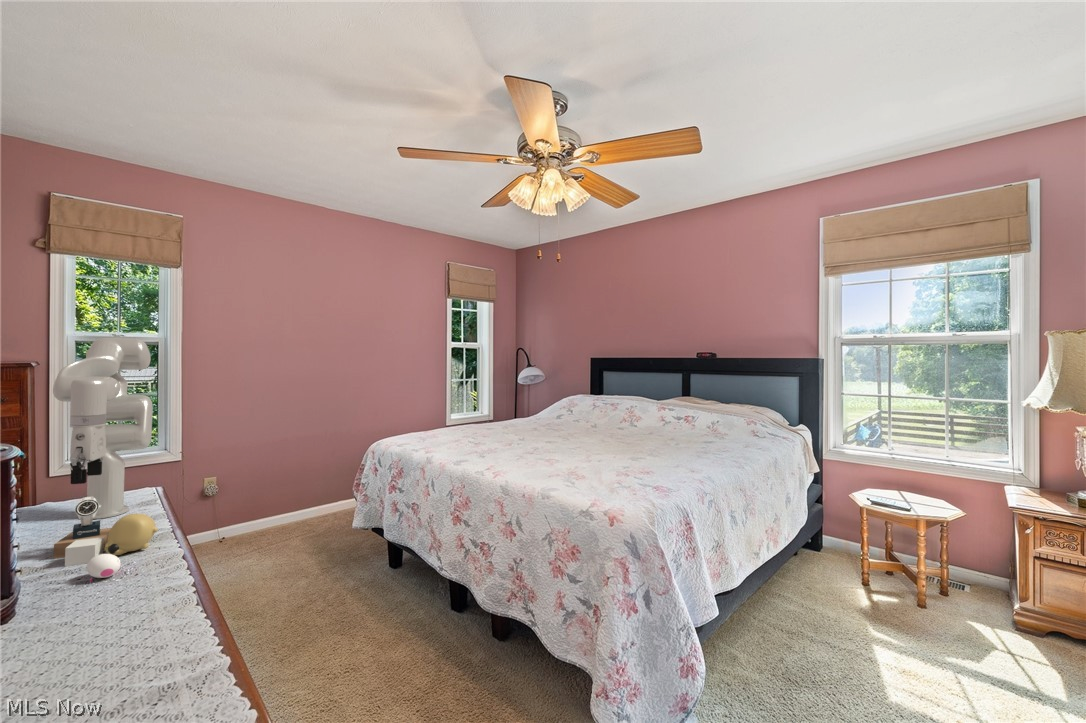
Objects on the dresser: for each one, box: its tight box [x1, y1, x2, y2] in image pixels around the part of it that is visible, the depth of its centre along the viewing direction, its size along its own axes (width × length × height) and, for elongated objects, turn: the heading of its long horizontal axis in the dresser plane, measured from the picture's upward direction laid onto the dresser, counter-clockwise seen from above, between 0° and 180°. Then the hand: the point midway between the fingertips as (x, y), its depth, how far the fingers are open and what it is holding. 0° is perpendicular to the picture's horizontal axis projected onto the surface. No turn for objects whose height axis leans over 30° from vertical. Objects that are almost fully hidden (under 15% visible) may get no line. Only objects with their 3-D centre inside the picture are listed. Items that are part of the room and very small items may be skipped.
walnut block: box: [53, 527, 112, 560], centre depth 133 cm, size 10×10×4 cm
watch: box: [72, 496, 101, 540], centre depth 133 cm, size 6×8×11 cm
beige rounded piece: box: [104, 513, 159, 557], centre depth 133 cm, size 10×12×11 cm
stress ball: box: [86, 553, 122, 582], centre depth 118 cm, size 8×8×7 cm
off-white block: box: [64, 537, 105, 567], centre depth 126 cm, size 6×6×5 cm
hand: (86, 479), depth 133 cm, fingers open, 9 cm apart
